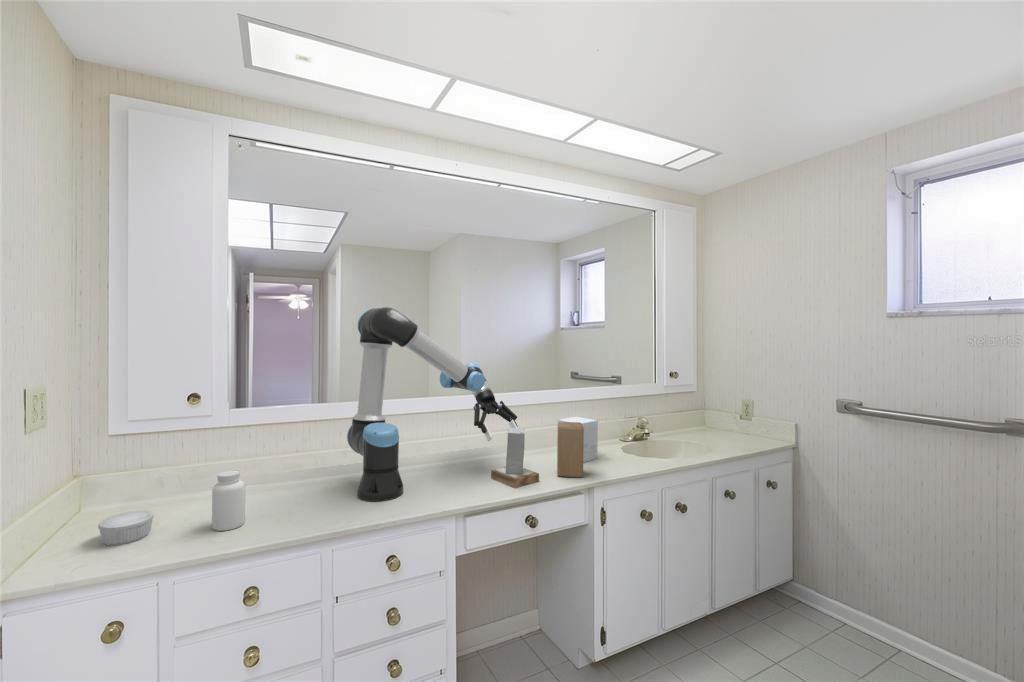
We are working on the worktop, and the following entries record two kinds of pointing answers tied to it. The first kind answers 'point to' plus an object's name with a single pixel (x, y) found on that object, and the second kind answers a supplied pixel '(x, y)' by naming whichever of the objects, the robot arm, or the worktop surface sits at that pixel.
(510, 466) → the skincare box
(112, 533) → the ramekin
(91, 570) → the worktop surface
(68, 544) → the worktop surface
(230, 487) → the pill bottle
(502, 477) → the wooden framed mirror
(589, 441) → the supplement box
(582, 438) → the wooden block
